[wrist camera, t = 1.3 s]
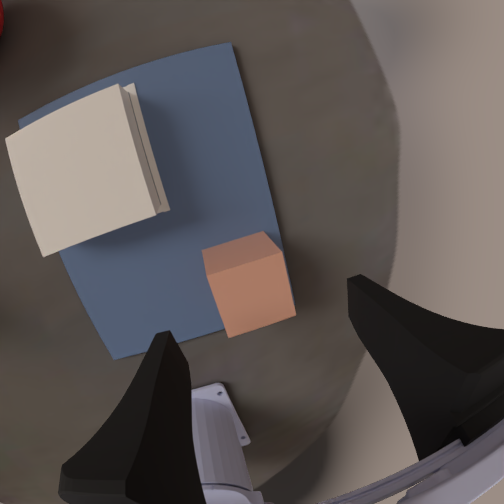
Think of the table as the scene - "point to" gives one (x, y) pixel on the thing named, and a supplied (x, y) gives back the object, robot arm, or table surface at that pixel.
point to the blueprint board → (174, 201)
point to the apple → (1, 18)
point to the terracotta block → (249, 283)
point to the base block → (83, 170)
